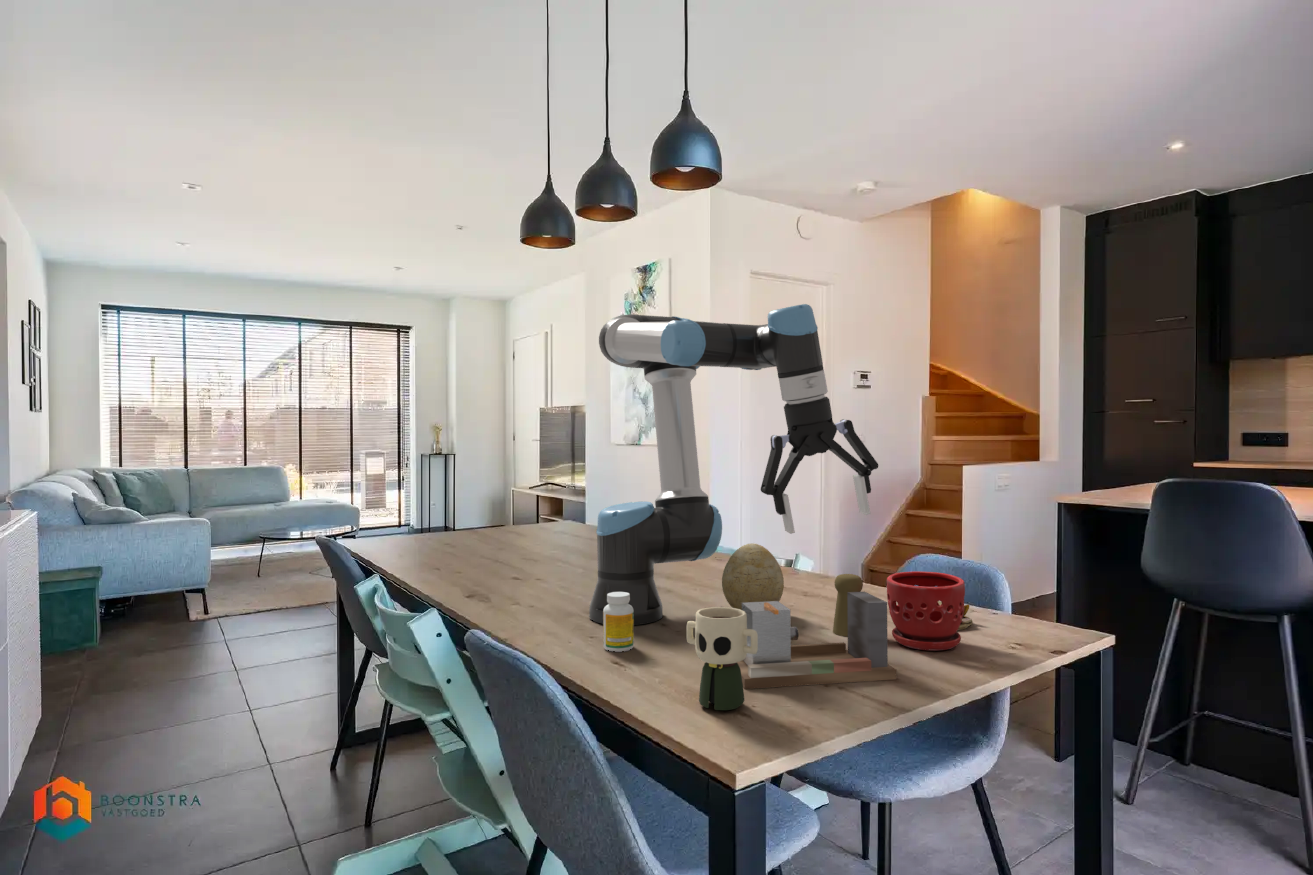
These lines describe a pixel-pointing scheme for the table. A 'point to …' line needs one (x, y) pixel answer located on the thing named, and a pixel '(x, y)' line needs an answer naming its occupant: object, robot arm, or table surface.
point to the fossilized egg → (752, 576)
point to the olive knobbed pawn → (844, 601)
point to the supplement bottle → (618, 623)
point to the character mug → (721, 654)
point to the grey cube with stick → (770, 632)
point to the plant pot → (926, 609)
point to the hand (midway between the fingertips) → (827, 522)
